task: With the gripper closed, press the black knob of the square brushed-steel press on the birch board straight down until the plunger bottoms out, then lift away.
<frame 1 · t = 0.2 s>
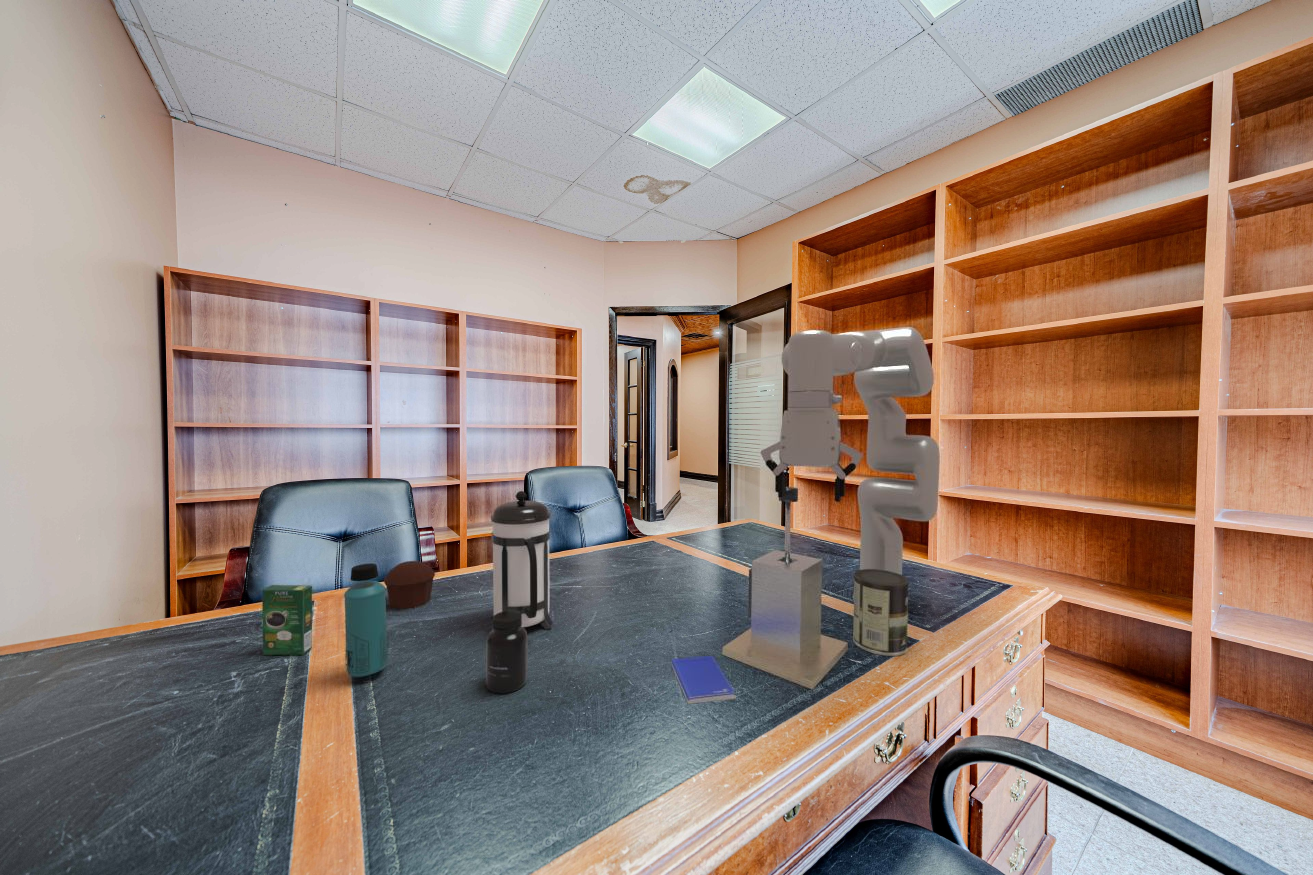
hand: (809, 498, 84), 32 cm above the table, tool pointing down, fingers open, 9 cm apart
coffee box: (288, 653, 92), on the table
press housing: (785, 652, 93), on the table
supplement bottle: (507, 684, 81), on the table
beverage bottle: (367, 676, 84), on the table
plunger: (787, 530, 92), point 24 cm above the table, slide at 0.0 cm
hard drive: (701, 684, 83), on the table
coffee can: (879, 644, 96), on the table
muffin: (410, 603, 117), on the table
coffee press: (524, 627, 104), on the table
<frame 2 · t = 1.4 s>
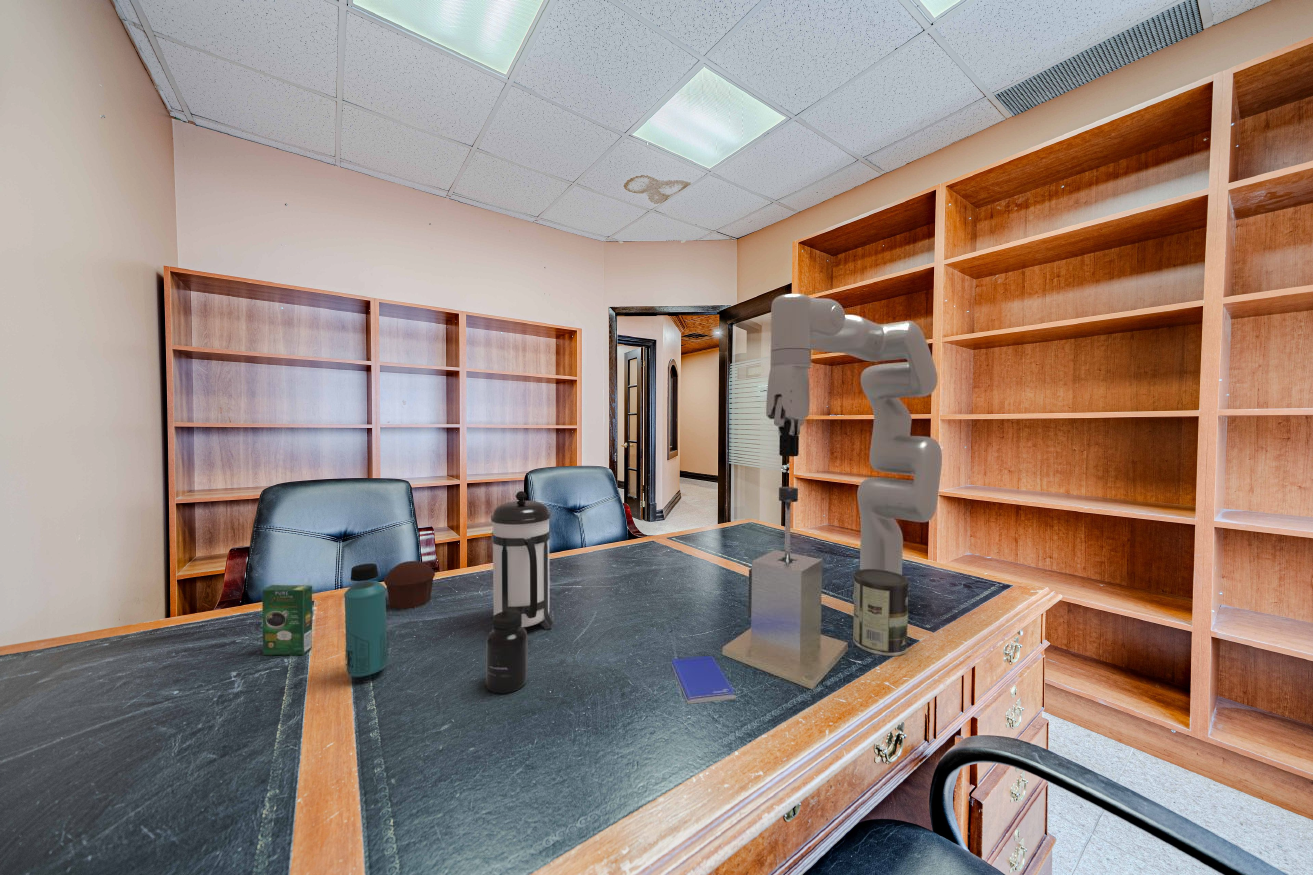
hand: (788, 455, 91), 39 cm above the table, tool pointing down, fingers closed
nothing on the table moved.
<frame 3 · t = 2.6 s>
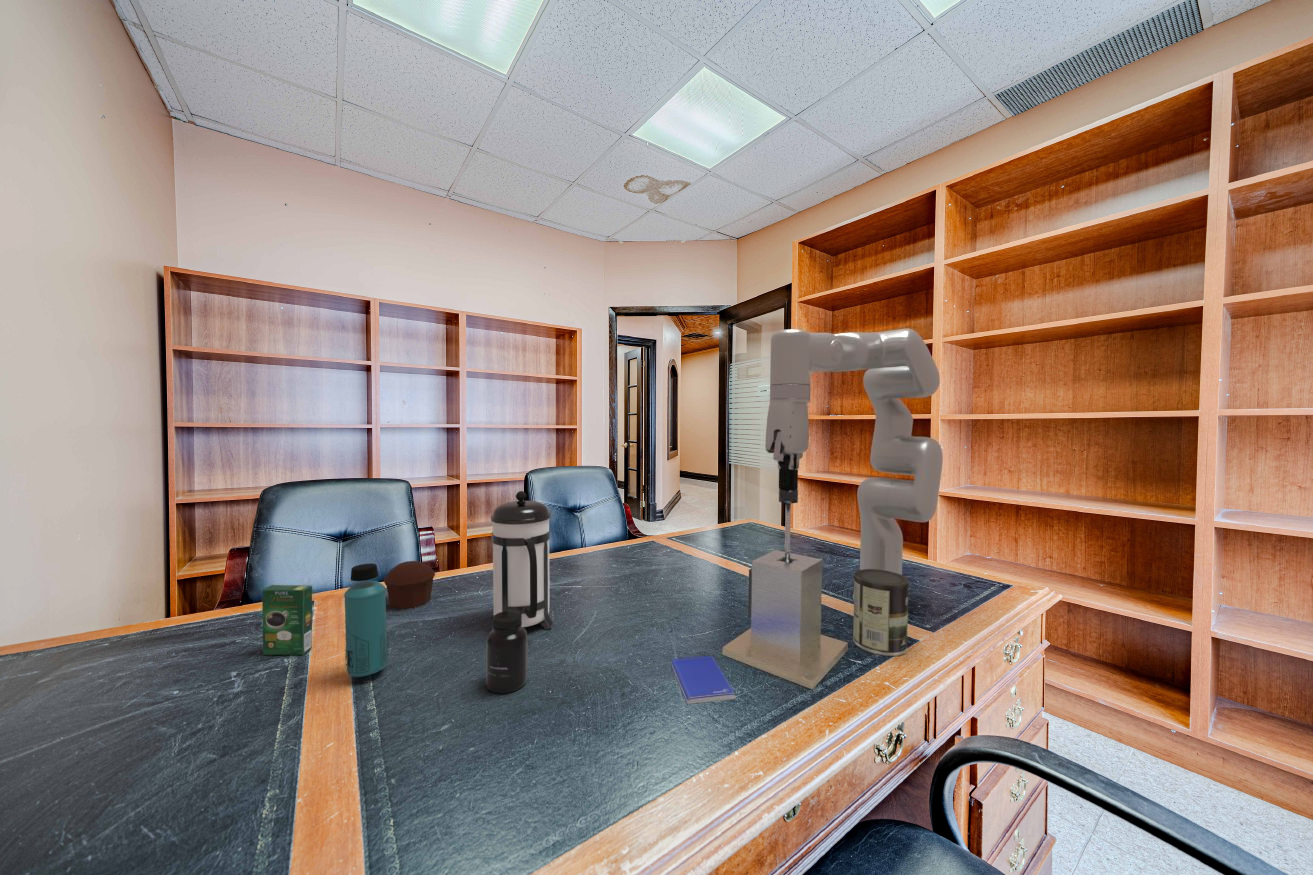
hand: (788, 489, 91), 33 cm above the table, tool pointing down, fingers closed
plunger: (787, 531, 92), point 24 cm above the table, slide at 0.2 cm, touching gripper
everything else where it was.
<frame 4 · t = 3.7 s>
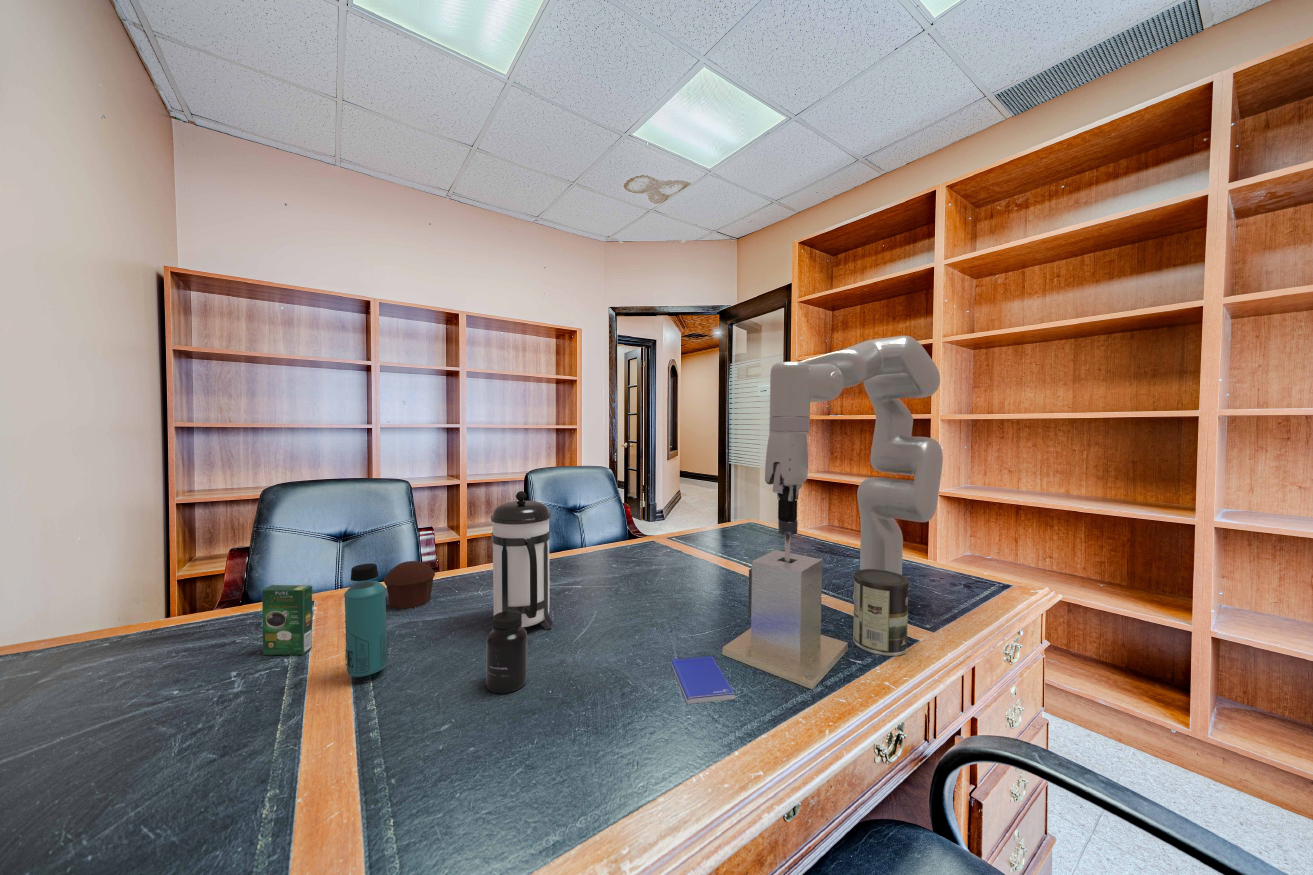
hand: (787, 520, 91), 26 cm above the table, tool pointing down, fingers closed
plunger: (787, 561, 92), point 18 cm above the table, slide at 6.3 cm, touching gripper
everything else where it was.
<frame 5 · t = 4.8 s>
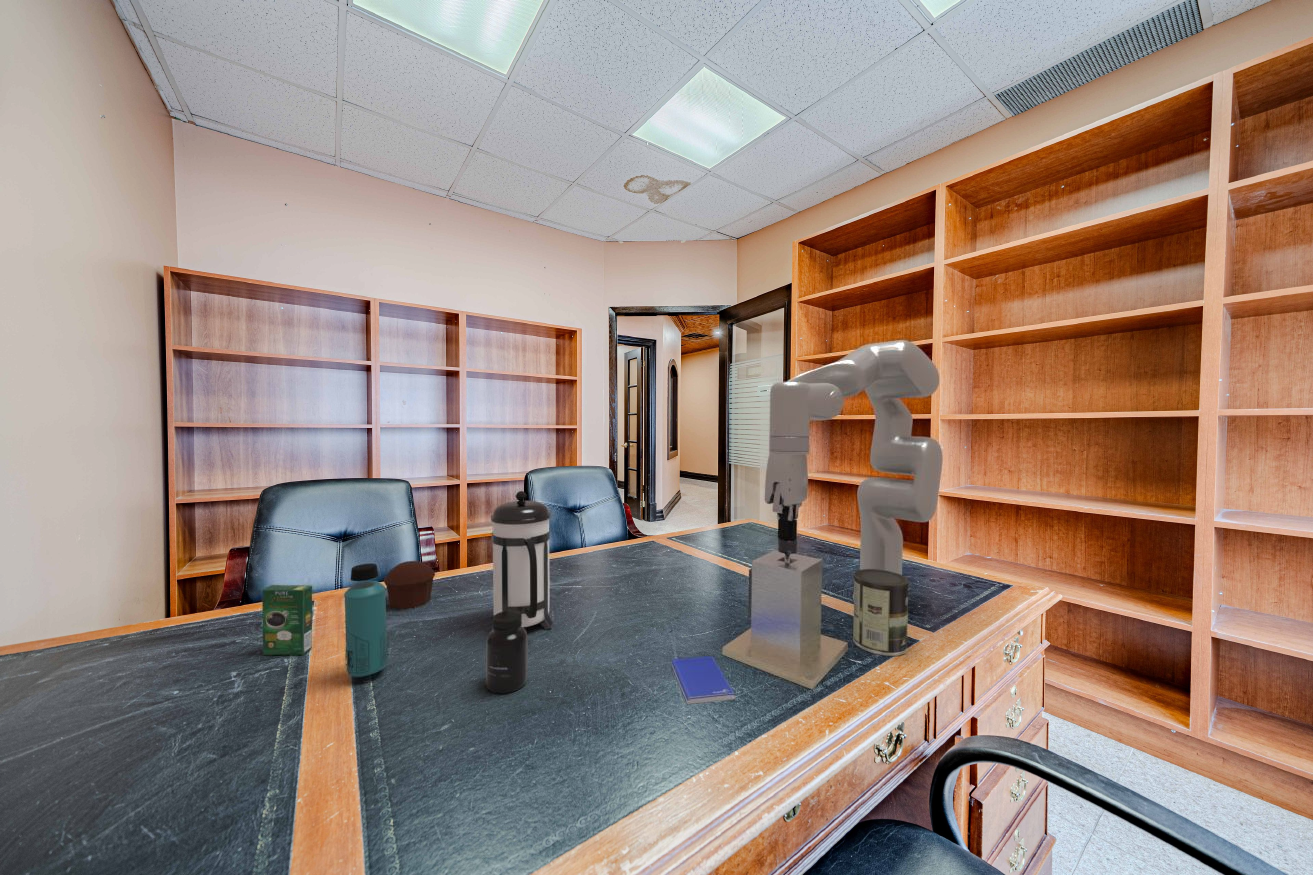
hand: (787, 539, 92), 23 cm above the table, tool pointing down, fingers closed
plunger: (787, 580, 92), point 14 cm above the table, slide at 10.0 cm, touching gripper
everything else where it was.
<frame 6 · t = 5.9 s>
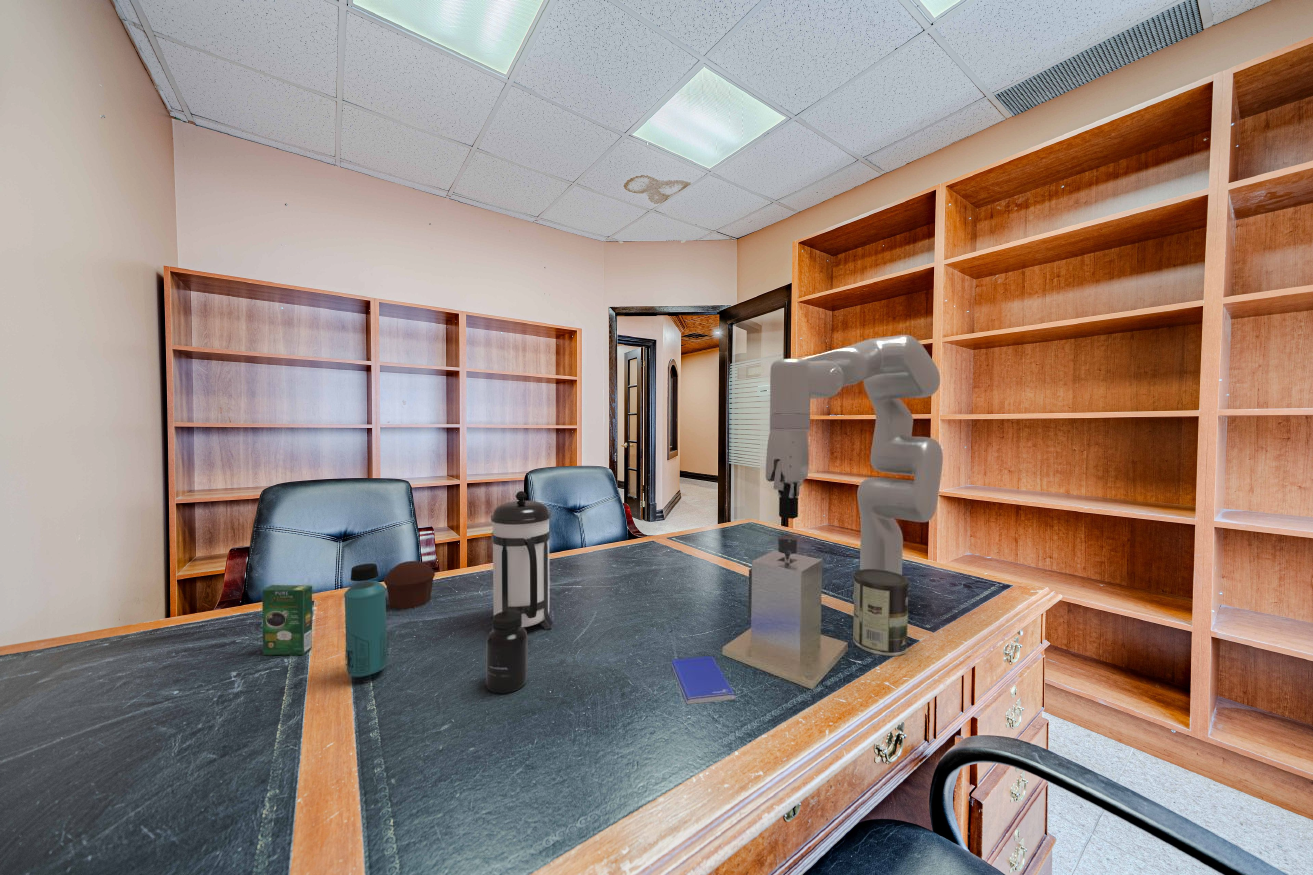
hand: (788, 517, 92), 27 cm above the table, tool pointing down, fingers closed
plunger: (787, 580, 92), point 14 cm above the table, slide at 10.0 cm
everything else where it was.
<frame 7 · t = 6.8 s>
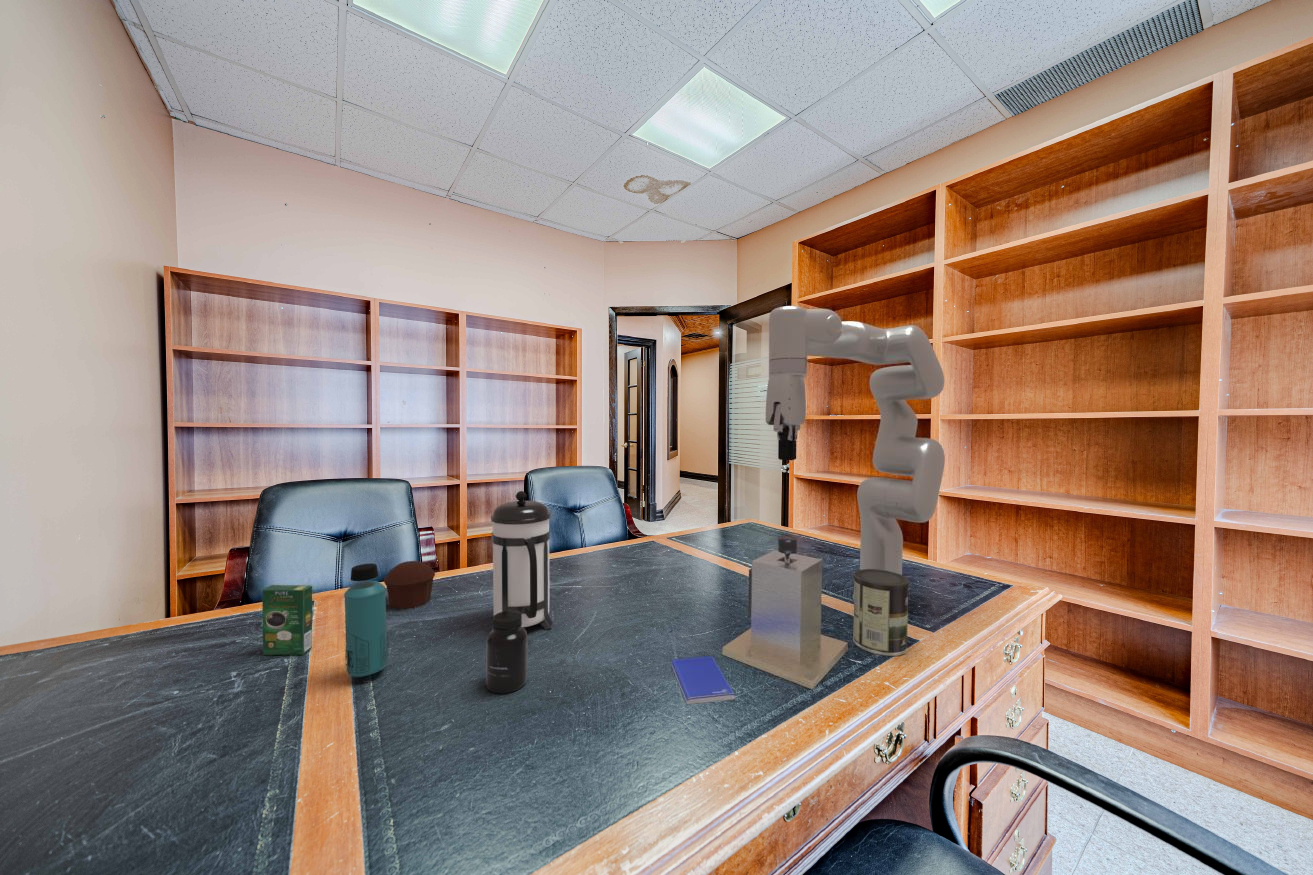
hand: (787, 459, 96), 38 cm above the table, tool pointing down, fingers closed
nothing on the table moved.
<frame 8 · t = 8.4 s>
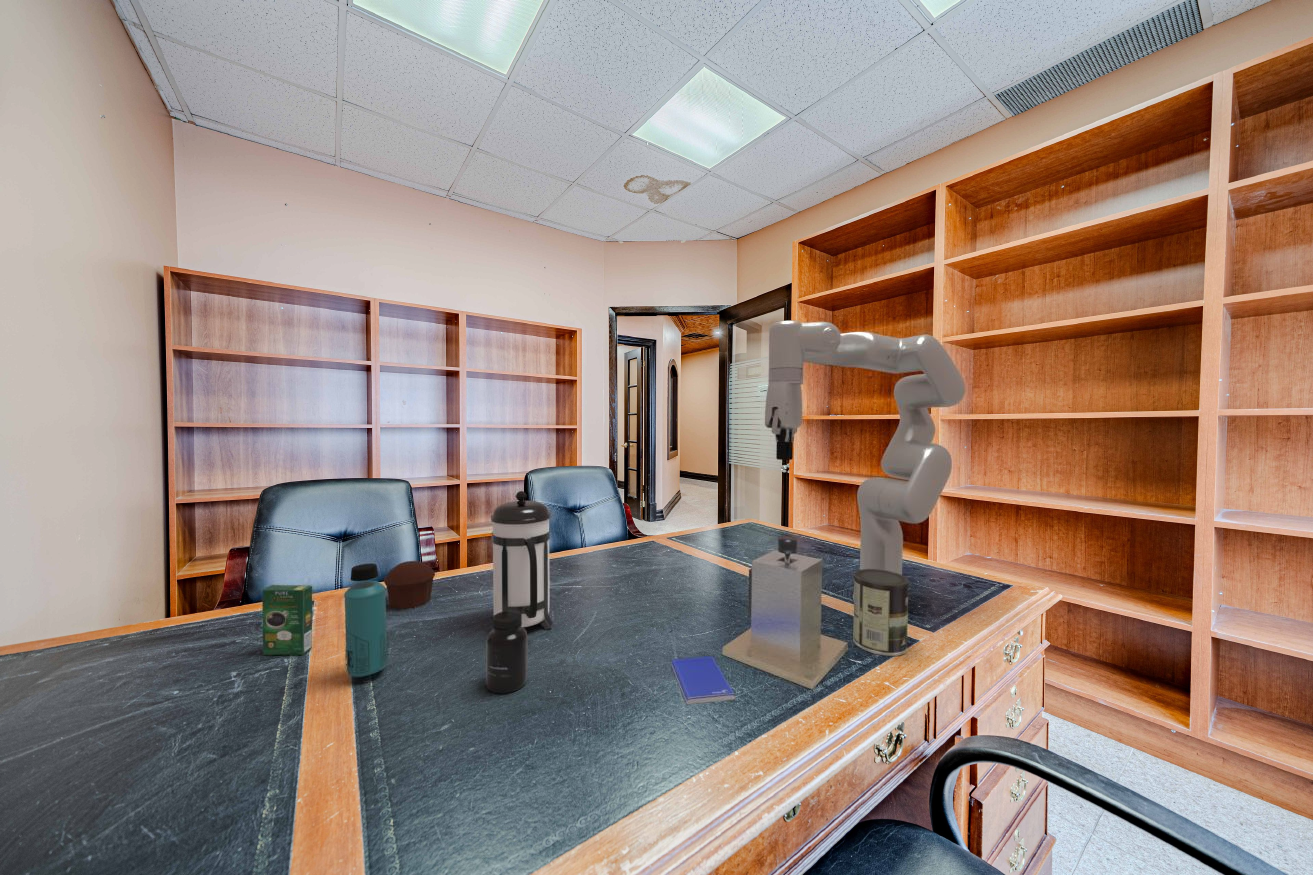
hand: (784, 459, 106), 37 cm above the table, tool pointing down, fingers closed
nothing on the table moved.
at the end: plunger slide at 10.0 cm; hard drive moved 0.8 cm from its start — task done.
